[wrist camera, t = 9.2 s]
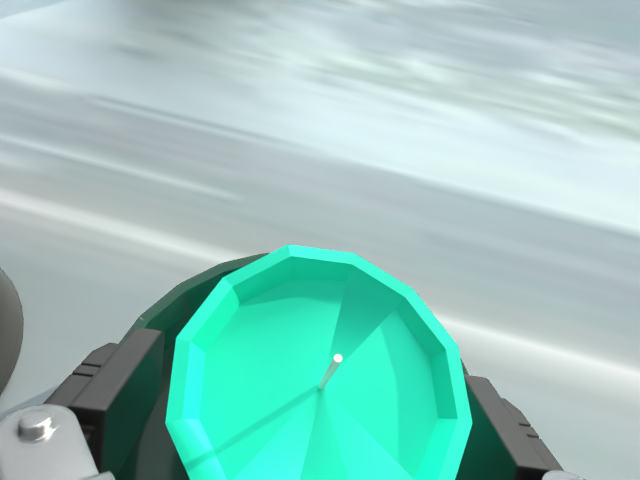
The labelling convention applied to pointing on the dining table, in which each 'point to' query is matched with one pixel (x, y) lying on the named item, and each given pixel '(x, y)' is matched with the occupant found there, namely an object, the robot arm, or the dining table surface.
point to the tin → (171, 317)
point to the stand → (9, 328)
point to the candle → (316, 376)
